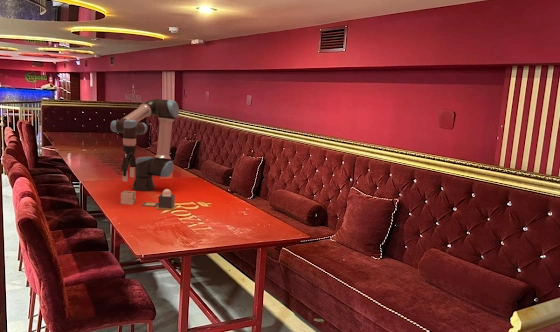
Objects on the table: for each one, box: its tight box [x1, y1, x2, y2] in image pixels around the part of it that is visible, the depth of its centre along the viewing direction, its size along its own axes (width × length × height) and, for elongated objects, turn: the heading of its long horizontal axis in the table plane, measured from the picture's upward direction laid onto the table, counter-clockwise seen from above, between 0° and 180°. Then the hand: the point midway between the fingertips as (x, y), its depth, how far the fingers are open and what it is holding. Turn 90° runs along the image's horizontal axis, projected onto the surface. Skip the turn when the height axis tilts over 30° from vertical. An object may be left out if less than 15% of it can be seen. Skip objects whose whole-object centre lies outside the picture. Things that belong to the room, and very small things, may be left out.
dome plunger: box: [162, 188, 172, 197], centre depth 289 cm, size 5×5×10 cm
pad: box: [141, 201, 158, 208], centre depth 294 cm, size 9×9×1 cm
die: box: [120, 190, 137, 206], centre depth 294 cm, size 7×7×7 cm
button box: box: [155, 193, 177, 211], centre depth 289 cm, size 10×10×8 cm
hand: (128, 179), depth 292 cm, fingers open, 13 cm apart
